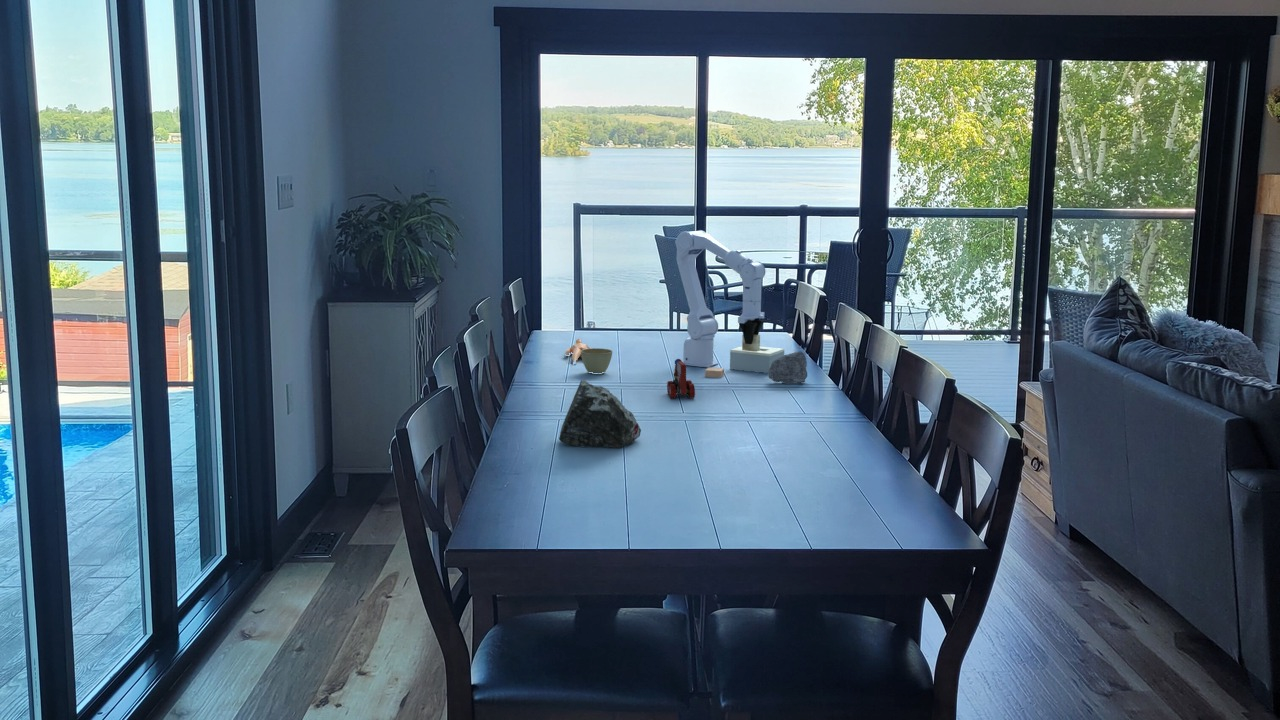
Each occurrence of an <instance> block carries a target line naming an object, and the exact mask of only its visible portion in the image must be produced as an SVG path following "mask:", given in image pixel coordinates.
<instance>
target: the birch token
mask: <svg viewBox="0 0 1280 720" xmlns="http://www.w3.org/2000/svg"><path fill="white" fill-rule="evenodd" d="M741 337H742V341H741V343H742V344H741V346H742V350H745V351H754V352H757V351H760V346H761V335H760V334H758V335H753V342H752V344H745V340H744V336H743V334H742V335H741Z"/></svg>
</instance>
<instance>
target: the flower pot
mask: <svg viewBox="0 0 1280 720" xmlns="http://www.w3.org/2000/svg"><path fill="white" fill-rule="evenodd" d="M589 348H590V349H583V350H581V357H580V358H581V360H582V363H583V366H584V367H585V370H586V371H587V373H588V372H593V373H602V372H605V373H606V371H607V370H608V367H609V366H610V364H611V360H612V358H613V357H612V356H613V350H611V349H608V348H602V347H601V348H600V347H599V348H598V347H595V348H594V347H593V348H592V347H589Z"/></svg>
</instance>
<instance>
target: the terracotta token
mask: <svg viewBox="0 0 1280 720" xmlns="http://www.w3.org/2000/svg"><path fill="white" fill-rule="evenodd" d="M724 375H725V368H724V367H712V366H710V367H706V369H705V371H704V376H705V378H719V379H720V378H722V377H723V376H724Z"/></svg>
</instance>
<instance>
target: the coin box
mask: <svg viewBox="0 0 1280 720" xmlns="http://www.w3.org/2000/svg"><path fill="white" fill-rule="evenodd" d="M729 350H730V351H729V355H730V356H729V357H730V358H729V370H733V369H734V371H735V370H736V371H742V370H744V372H750V371H755V372H754V373H759V372H764V373H763V374H768V370H769V368H770V367H771V364H772V362H773V361H774V360H775V359H777V358H780V357H782V356H784V355H785V348H779V347H770V346H769V347H768V346H761V345H760V351H757V352H754V351H745V350H742V345H741V346H738V347H735V348H734V347H733V348H732V349H731V348H730V349H729Z"/></svg>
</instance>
